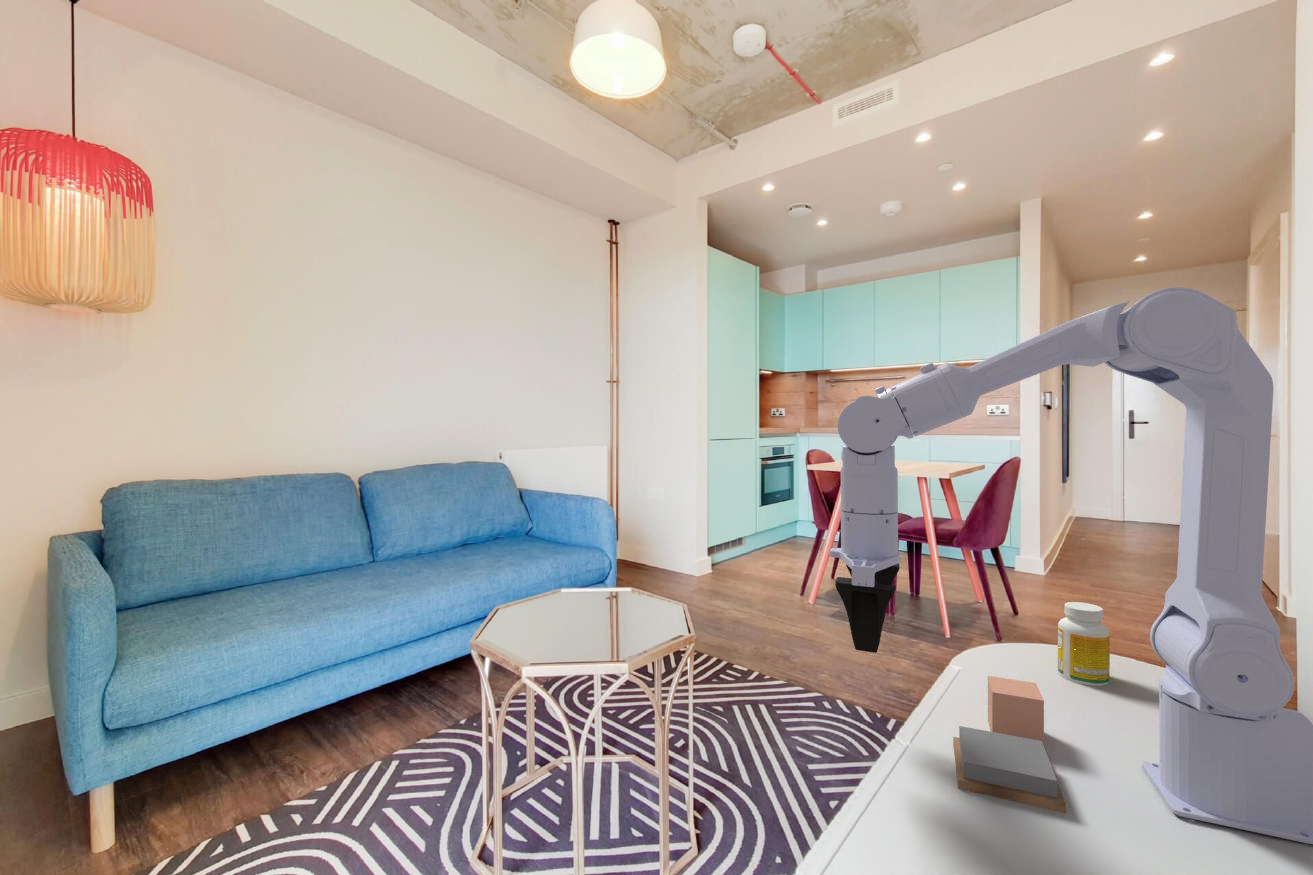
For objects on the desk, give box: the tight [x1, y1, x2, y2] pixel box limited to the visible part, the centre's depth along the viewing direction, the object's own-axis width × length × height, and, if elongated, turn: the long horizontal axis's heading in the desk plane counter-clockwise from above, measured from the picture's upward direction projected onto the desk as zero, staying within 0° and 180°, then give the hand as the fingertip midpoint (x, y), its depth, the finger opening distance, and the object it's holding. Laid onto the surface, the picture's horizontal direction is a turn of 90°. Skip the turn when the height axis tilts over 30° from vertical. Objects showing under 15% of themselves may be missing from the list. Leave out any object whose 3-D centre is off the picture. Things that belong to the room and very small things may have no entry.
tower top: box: [958, 725, 1058, 798], centre depth 53 cm, size 7×7×2 cm
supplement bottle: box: [1057, 601, 1111, 687], centre depth 73 cm, size 5×5×10 cm
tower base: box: [952, 736, 1067, 814], centre depth 53 cm, size 8×8×2 cm
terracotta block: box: [987, 675, 1045, 747], centre depth 60 cm, size 4×4×5 cm
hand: (869, 637), depth 61 cm, fingers open, 7 cm apart
